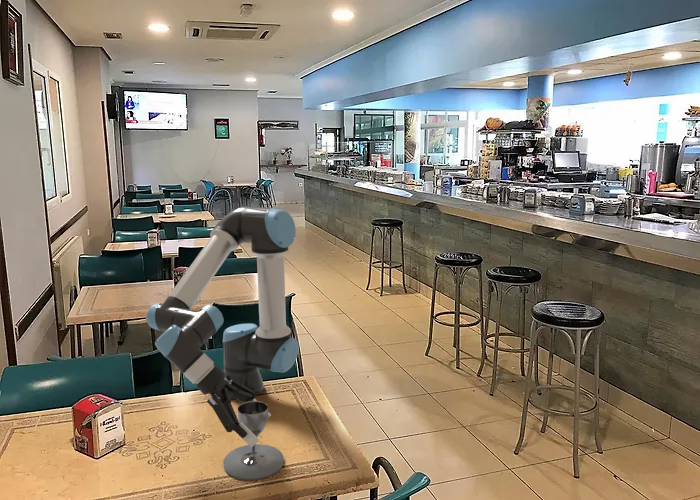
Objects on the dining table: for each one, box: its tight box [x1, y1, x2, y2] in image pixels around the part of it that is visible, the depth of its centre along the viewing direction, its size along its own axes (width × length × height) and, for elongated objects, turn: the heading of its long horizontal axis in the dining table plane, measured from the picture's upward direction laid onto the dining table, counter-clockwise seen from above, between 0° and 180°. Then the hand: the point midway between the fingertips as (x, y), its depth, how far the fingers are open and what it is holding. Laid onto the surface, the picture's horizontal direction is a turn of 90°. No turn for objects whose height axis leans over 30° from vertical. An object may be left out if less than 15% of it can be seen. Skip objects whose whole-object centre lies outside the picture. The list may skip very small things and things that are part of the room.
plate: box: [223, 443, 285, 481], centre depth 156 cm, size 16×16×1 cm
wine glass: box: [237, 400, 269, 466], centre depth 155 cm, size 8×8×15 cm
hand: (261, 430), depth 154 cm, fingers open, 13 cm apart
